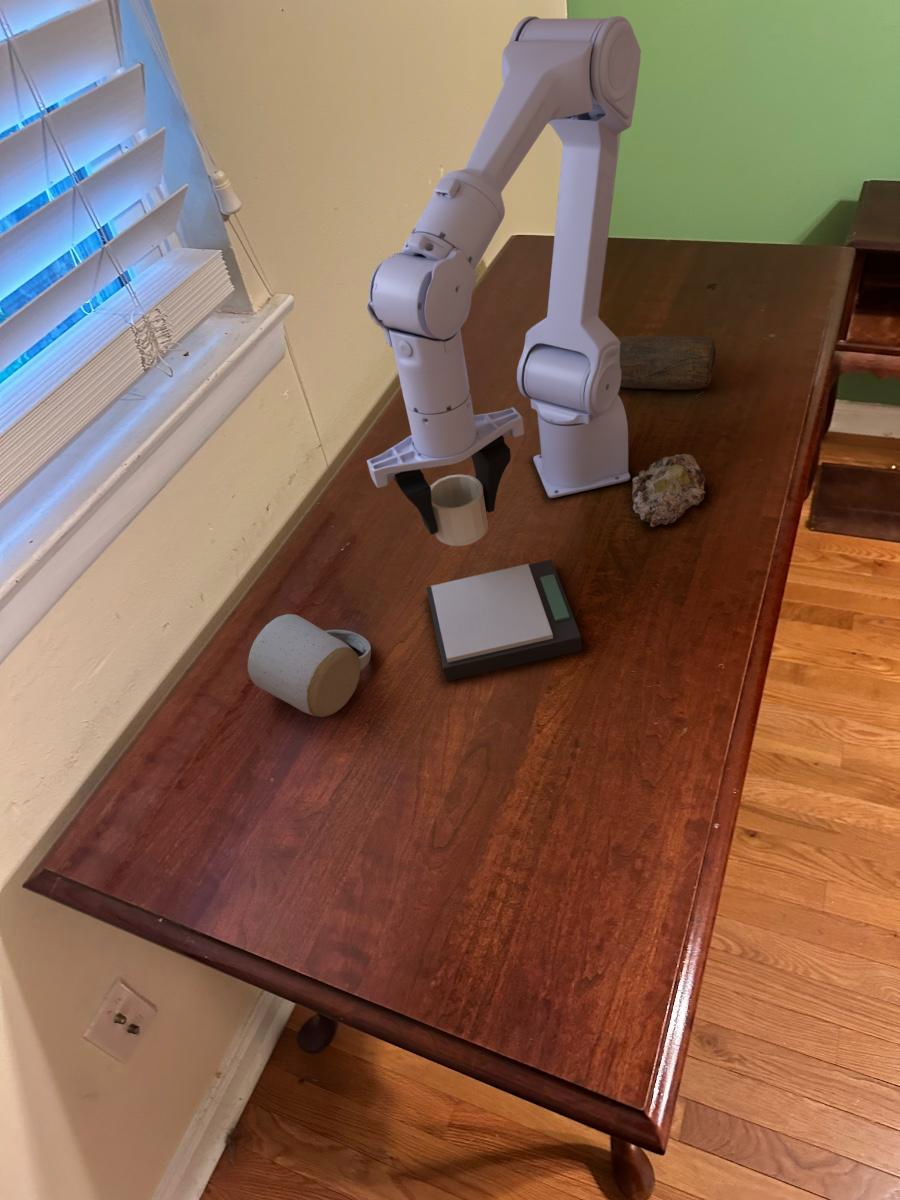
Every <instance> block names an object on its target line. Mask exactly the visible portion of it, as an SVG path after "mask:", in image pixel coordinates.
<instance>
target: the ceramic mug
mask: <svg viewBox="0 0 900 1200" xmlns="http://www.w3.org/2000/svg"><path fill="white" fill-rule="evenodd" d="M353 648H354V649H356V650H357V651H358V652H360V654H362V655H360V656H359V655H358V654H357V652H356V651H355V650H354V649H353ZM371 655H372V647H371V643H370V642H369V640H367V638H365V637H364V636H362V635H361V634H359V633H357V632H354V631H351V630H346V629H328V630H323V629H322V628H320V627H318V626H317V625H315V624H313V623H312V622H310V621H308V620H306V619H305V618H303V617H302V616H300V615H298V614H294V613H287V614H283V615H279V616H277V617H275V618H273V619H272V620H271V621H270V622H268V623H267V624H266V625H265V626H264V627H263V628H262V629H261V630H260V632H259V633H258V634H257V636H256V637H255V639H254V641H253V643H252V645H251V647H250V650H249V654H248V658H247V672H248V676H249V678H250V680H251V682H252V683H253V684H254V686H256V687H258V688H260V689H261V690H263V691H265V692H267V693H269V694H270V695H272V696H273V697H276V698H277V699H279V700H281V701H283V702H285V703H287V704H288V705H291V706H293V707H294V708H296V709H297V710H299V711H301V712H303V713H305V714H307V715H311V716H313V717H318V718H324V717H329V716H331V715H334V714H336V713H337V712H338V711H340V710H341V709H342V708H343V707H345V706H346V704H347V703H348V701H349V700H350V699H351V697H352V696H353V695H354V692H355V691H356V689H357V687H358V684H359V681H360V678H361V671H362V670H364V669H365V668H366V666H368V664H369V663H370V661H371V658H372V656H371Z"/></svg>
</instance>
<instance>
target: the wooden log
mask: <svg viewBox="0 0 900 1200" xmlns="http://www.w3.org/2000/svg"><path fill="white" fill-rule="evenodd" d="M616 337H617V338H618V339H619V341H620V368H621V384H620V388H624V389H635V390H636V389H638V390H643V389H644V390H645V389H646V390H667V391H675V390H676V391H677V390H682V391H683V390H698V389H705V388H708V387H709V385H710V383H711V380H712V376H713V374H714V373H713V372H714V368H715V364H716V356H717V347H716V346H717V345H716V343H715V339H713V338H712V337H708V336H707V337H706V336H699V335H698V336H697V335H696V336H695V335H625V336H624V335H623V336H616Z"/></svg>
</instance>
